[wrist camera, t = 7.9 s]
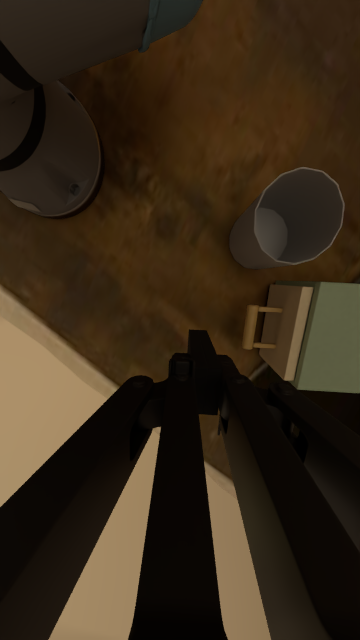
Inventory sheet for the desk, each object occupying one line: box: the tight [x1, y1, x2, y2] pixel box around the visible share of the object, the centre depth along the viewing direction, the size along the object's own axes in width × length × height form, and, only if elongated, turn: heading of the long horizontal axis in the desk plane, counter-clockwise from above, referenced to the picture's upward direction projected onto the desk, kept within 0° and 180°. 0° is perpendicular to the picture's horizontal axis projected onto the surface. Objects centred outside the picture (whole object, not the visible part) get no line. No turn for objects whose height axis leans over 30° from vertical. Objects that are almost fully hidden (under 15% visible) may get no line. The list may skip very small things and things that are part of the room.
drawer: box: [242, 284, 314, 381], centre depth 25 cm, size 18×11×8 cm, turn 87°
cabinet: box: [275, 281, 360, 393], centre depth 25 cm, size 15×13×10 cm
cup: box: [229, 167, 345, 269], centre depth 22 cm, size 8×8×10 cm
